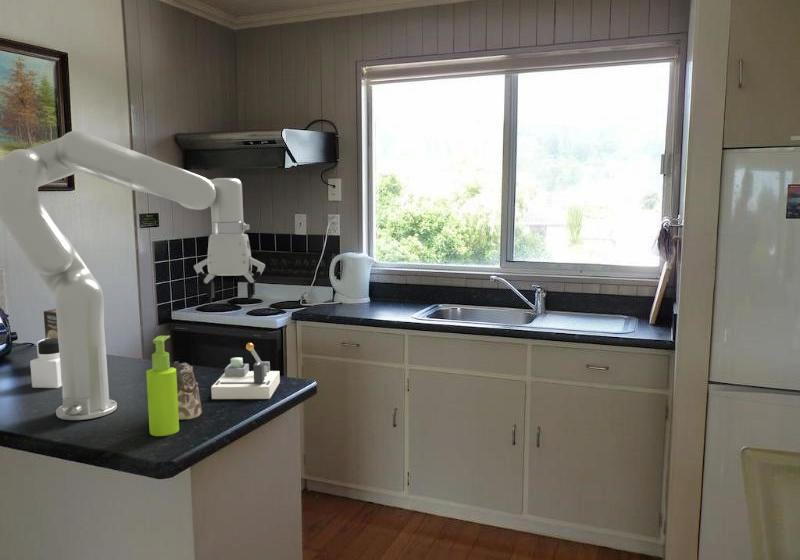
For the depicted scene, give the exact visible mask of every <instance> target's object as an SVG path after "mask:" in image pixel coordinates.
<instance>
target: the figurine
mask: <svg viewBox="0 0 800 560" xmlns="http://www.w3.org/2000/svg"><path fill="white" fill-rule="evenodd" d="M173 366H174V368H175V369H176V375H177V395H178V415H179V420H191V419H194V418H195V419H196V418H198V417H199V416H201V414H202V413H203V410H202V404H201V403H202V402H201V397H200V390H199V386H198V385H199V383H198V381H196V376H195V374H194V368H193V366H192V365H191V364H189V363H187V362H181V363H180V362H179V360H177V361H174V363H173Z"/></svg>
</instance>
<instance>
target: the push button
mask: <svg viewBox="0 0 800 560" xmlns="http://www.w3.org/2000/svg"><path fill="white" fill-rule="evenodd" d="M243 359H244V358H243V357H239V356H238V357H232V358H230V364H231V368H243V364H244V360H243Z"/></svg>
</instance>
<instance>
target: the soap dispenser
mask: <svg viewBox="0 0 800 560" xmlns="http://www.w3.org/2000/svg"><path fill="white" fill-rule="evenodd" d="M170 338H171V335H158V336H155V338H153V340H152V344H155V351H154V353H152V354H151V362H152V363H151V364H152V365H151V366H152V368H150V369H148V370H146V372H145V374H146V375H145V376H146V393H147V411H148V424H149V426H148V428H149V434H150V436H154V437H166V436H171V435H174V434H176V433H178V432H179V431H180V421H179V415H178V395H177V375H176V369H175V367H171V365H170V362H171V361H170V353H169V352H167V351H165V341H166V340H167V339H170Z"/></svg>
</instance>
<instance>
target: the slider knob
mask: <svg viewBox="0 0 800 560" xmlns="http://www.w3.org/2000/svg"><path fill="white" fill-rule="evenodd" d="M264 362H265V361H262V362H257V361H255V363H254V364H253V371H254V383H263V381H264V380H265V378H264Z"/></svg>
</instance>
